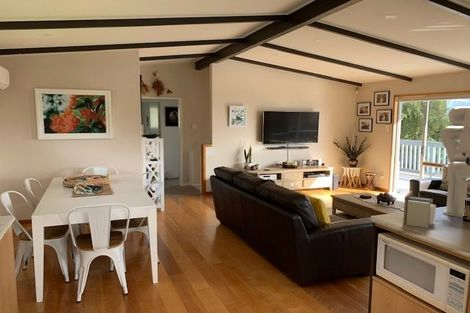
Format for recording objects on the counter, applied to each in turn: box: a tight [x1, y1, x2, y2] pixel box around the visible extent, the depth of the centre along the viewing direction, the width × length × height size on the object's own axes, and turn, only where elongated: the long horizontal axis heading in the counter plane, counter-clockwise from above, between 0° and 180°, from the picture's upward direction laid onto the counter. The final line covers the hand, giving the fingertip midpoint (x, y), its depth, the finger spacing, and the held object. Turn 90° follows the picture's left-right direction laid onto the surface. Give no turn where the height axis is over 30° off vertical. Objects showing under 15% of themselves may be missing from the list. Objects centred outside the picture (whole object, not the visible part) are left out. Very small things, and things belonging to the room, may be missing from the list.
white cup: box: [429, 203, 437, 225], centre depth 188 cm, size 8×8×10 cm
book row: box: [405, 196, 430, 229], centre depth 183 cm, size 6×10×14 cm, turn 55°
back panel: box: [402, 190, 413, 225], centre depth 192 cm, size 19×1×15 cm, turn 145°
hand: (469, 165), depth 183 cm, fingers closed
